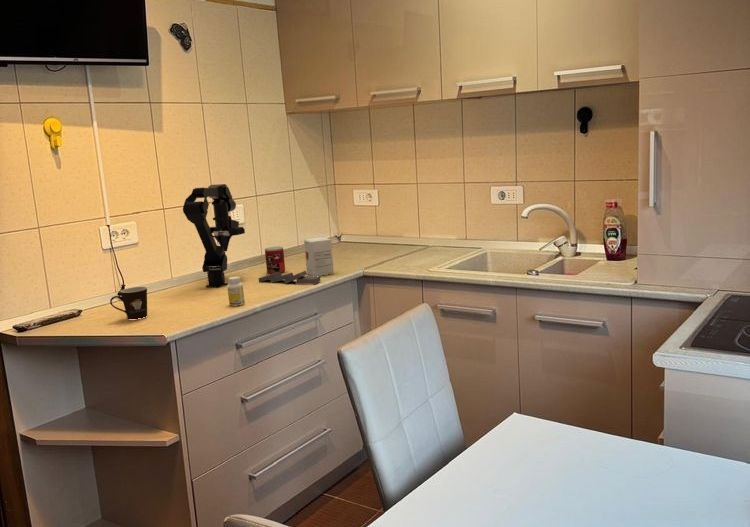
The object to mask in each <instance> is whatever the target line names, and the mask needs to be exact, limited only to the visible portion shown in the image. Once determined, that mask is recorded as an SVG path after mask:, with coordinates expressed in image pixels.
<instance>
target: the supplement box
mask: <svg viewBox="0 0 750 527" xmlns="http://www.w3.org/2000/svg"><path fill="white" fill-rule="evenodd" d="M303 246H304V255H305V266H306V273H307V275H308V274H309V275H308V276H314V277H317V276H319V277H323V276H322V275H325V276H329V275H328V274H331V275H335V273H334V271H335V269H334V258H333V245H332V239H331V238H327V237H324V236H320V237H314V238H307V239H303Z"/></svg>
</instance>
